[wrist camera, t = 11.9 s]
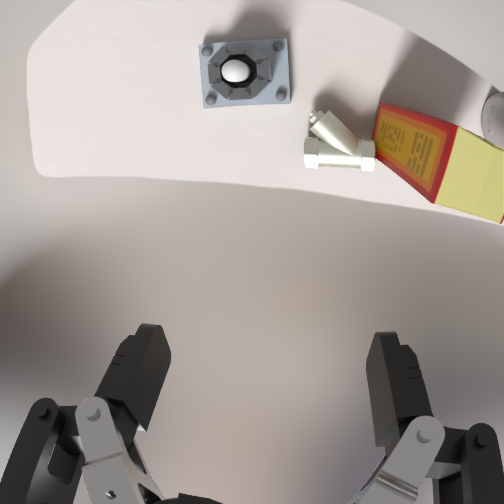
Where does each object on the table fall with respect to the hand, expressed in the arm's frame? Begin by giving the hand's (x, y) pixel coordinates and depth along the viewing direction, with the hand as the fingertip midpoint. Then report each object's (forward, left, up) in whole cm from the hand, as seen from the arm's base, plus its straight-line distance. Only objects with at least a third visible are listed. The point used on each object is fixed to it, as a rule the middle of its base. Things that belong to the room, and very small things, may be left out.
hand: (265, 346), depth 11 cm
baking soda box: (-16, -3, -30) cm, 34 cm away
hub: (+4, -10, -29) cm, 31 cm away
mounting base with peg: (+4, -10, -30) cm, 32 cm away
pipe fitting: (-7, -2, -30) cm, 31 cm away
